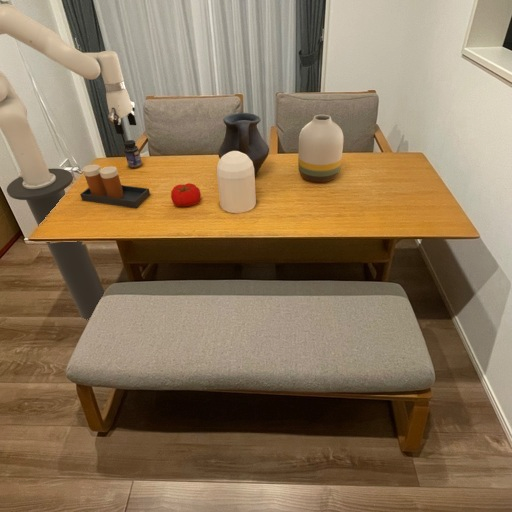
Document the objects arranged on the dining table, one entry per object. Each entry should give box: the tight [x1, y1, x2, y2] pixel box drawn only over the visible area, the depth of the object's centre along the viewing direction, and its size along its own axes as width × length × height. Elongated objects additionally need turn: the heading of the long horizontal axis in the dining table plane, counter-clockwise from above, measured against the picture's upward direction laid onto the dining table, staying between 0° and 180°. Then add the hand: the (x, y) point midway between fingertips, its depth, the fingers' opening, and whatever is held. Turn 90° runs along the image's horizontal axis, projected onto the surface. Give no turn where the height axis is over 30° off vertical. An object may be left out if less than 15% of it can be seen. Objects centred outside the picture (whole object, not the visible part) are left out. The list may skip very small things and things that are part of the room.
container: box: [216, 151, 257, 214], centre depth 137 cm, size 14×13×20 cm
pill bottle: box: [123, 139, 143, 169], centre depth 169 cm, size 6×6×11 cm
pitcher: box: [218, 112, 270, 176], centre depth 154 cm, size 21×22×25 cm
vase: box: [297, 114, 344, 183], centre depth 150 cm, size 17×17×24 cm
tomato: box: [170, 182, 202, 207], centre depth 143 cm, size 10×11×6 cm
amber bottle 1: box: [82, 163, 107, 196], centre depth 149 cm, size 6×6×11 cm
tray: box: [79, 184, 151, 209], centre depth 150 cm, size 24×10×3 cm, turn 73°
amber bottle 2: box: [100, 165, 124, 199], centre depth 147 cm, size 6×6×11 cm
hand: (127, 129), depth 162 cm, fingers open, 9 cm apart
